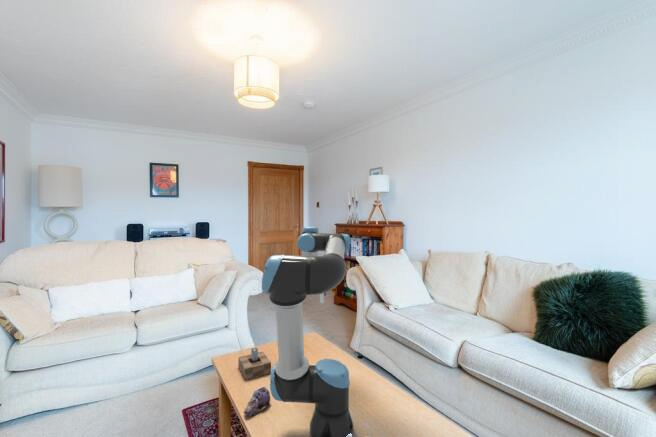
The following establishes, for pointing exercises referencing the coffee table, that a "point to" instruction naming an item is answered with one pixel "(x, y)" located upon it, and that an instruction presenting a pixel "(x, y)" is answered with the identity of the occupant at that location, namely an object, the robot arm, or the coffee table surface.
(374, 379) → the coffee table surface
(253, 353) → the pin
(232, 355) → the coffee table surface
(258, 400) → the purple lumpy piece
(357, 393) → the coffee table surface
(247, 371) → the socket block
